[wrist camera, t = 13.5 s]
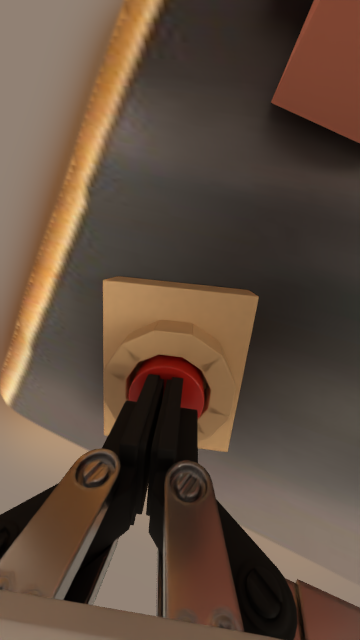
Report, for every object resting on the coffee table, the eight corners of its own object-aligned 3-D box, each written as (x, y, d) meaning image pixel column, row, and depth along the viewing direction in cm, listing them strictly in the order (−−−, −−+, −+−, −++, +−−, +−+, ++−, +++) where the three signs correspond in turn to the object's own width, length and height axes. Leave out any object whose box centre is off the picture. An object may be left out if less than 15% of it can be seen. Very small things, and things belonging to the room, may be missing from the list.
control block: (117, 275, 13) (85, 284, 9) (249, 289, 13) (271, 304, 9) (115, 412, 16) (90, 460, 12) (223, 426, 16) (231, 480, 12)
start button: (139, 346, 11) (129, 362, 10) (207, 354, 11) (209, 372, 10) (136, 404, 13) (127, 427, 11) (199, 412, 12) (199, 436, 11)
